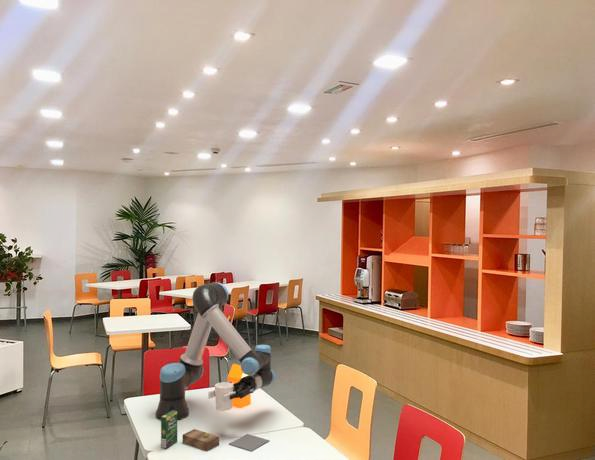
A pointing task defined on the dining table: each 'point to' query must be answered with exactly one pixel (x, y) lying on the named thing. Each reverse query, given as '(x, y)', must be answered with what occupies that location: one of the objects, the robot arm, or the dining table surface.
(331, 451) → the dining table surface
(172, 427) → the coffee box
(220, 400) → the white cup
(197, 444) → the walnut block
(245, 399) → the orange juice
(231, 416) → the dining table surface
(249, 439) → the mat
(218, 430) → the dining table surface
